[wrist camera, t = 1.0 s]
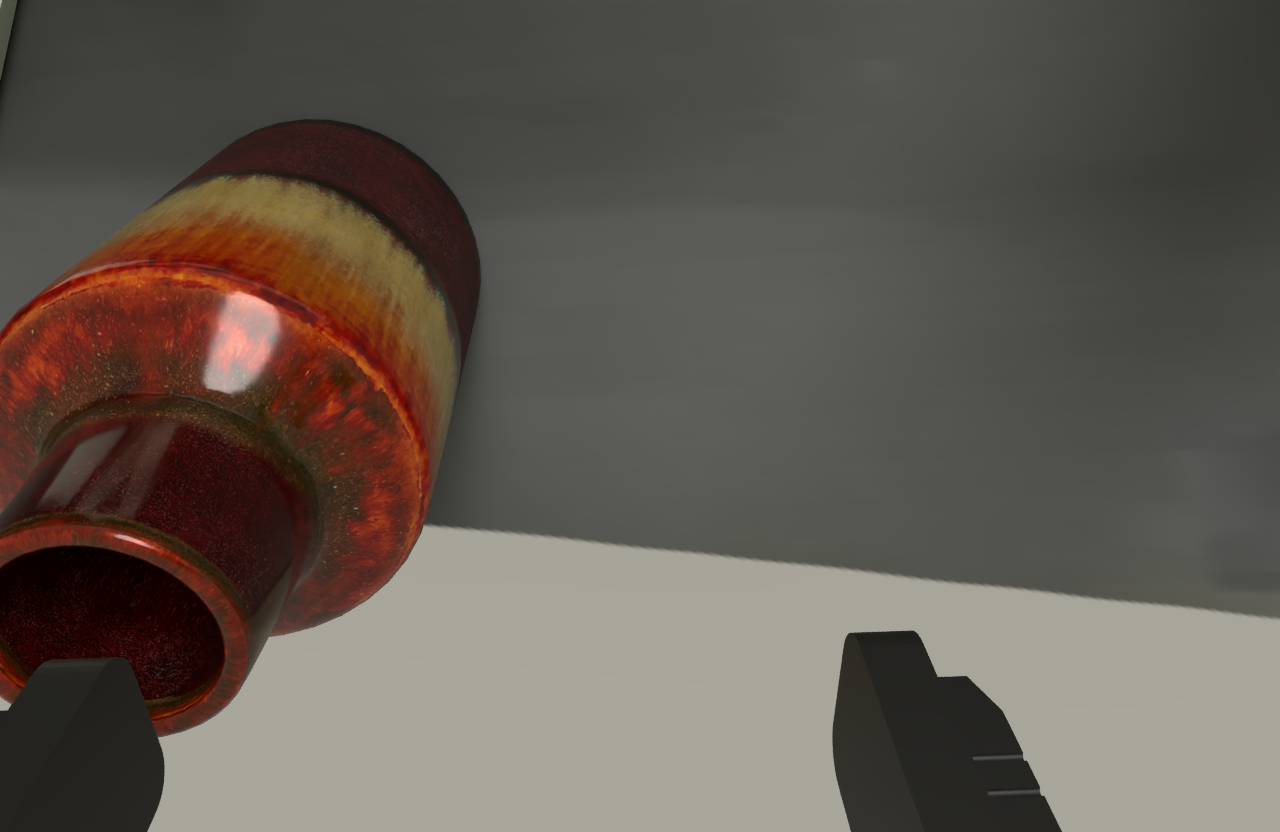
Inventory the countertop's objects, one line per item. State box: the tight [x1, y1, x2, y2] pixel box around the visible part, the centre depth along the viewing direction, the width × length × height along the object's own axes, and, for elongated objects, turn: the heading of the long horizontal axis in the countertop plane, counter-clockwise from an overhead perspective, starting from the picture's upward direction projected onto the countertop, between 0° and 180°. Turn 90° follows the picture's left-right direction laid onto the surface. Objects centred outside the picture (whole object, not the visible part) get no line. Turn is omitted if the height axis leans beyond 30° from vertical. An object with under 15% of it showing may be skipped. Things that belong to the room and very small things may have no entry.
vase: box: [0, 119, 481, 737], centre depth 27 cm, size 11×11×20 cm
